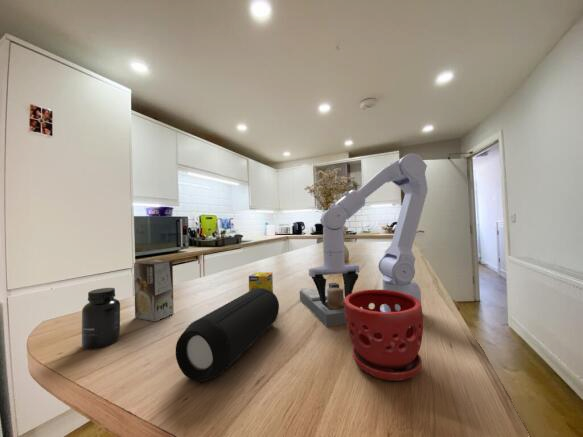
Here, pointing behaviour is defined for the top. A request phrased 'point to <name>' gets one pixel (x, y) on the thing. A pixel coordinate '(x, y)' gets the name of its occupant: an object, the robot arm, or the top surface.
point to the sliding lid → (313, 292)
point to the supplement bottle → (100, 319)
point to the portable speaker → (225, 334)
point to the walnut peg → (335, 298)
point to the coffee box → (153, 289)
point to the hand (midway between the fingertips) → (335, 300)
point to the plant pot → (385, 333)
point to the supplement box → (261, 281)
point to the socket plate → (324, 311)
